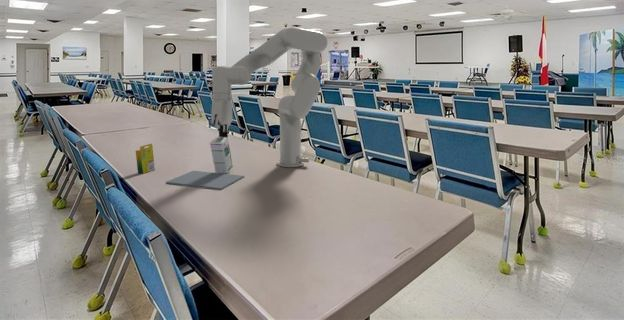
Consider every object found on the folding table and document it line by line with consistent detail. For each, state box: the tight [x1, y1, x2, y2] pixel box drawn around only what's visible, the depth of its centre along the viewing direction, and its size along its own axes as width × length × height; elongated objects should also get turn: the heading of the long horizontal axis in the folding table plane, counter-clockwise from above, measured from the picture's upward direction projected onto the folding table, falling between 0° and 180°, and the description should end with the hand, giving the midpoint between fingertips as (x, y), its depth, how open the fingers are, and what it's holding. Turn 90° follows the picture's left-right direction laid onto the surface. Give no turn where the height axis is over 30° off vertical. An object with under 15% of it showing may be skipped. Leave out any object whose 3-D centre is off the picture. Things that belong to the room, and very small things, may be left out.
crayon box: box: [135, 143, 156, 175], centre depth 169 cm, size 7×3×12 cm, turn 160°
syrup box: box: [209, 136, 234, 174], centre depth 167 cm, size 6×6×14 cm
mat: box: [165, 170, 245, 191], centre depth 158 cm, size 24×18×1 cm
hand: (223, 140), depth 169 cm, fingers closed
